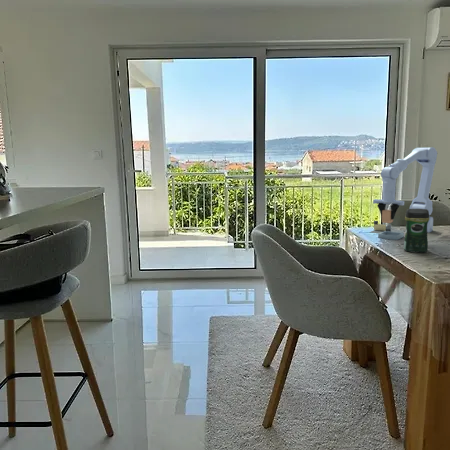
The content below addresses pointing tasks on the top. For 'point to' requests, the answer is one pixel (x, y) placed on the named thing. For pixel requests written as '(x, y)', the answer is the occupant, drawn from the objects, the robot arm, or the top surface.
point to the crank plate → (390, 231)
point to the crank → (382, 226)
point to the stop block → (386, 216)
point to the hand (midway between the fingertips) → (387, 218)
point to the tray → (391, 235)
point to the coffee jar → (416, 230)
